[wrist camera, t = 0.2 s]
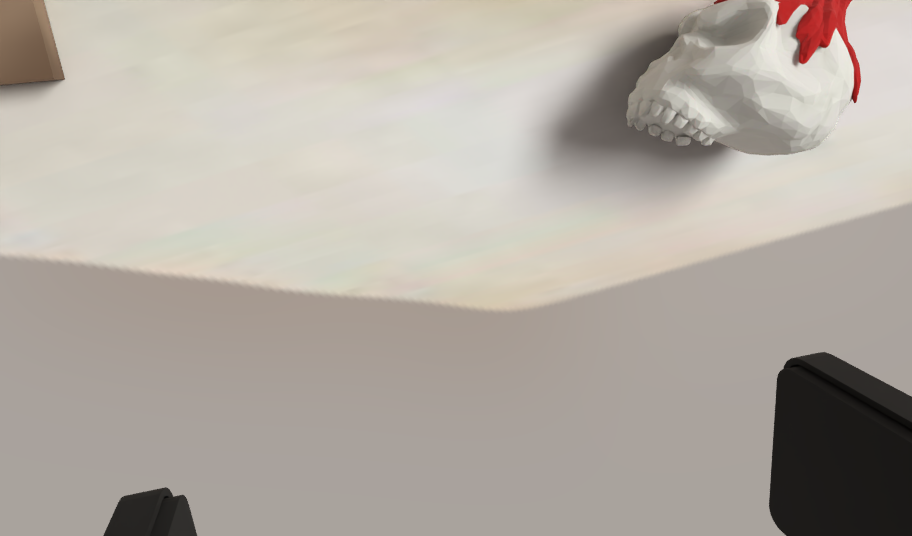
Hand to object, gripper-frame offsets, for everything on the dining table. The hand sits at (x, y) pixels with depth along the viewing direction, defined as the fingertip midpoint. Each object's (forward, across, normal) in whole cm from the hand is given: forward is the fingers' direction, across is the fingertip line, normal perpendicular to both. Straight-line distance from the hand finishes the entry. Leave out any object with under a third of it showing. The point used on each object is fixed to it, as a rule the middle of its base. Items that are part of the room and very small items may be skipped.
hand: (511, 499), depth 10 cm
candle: (+31, -24, -4) cm, 40 cm away
